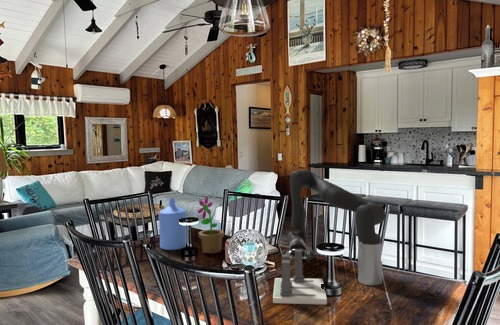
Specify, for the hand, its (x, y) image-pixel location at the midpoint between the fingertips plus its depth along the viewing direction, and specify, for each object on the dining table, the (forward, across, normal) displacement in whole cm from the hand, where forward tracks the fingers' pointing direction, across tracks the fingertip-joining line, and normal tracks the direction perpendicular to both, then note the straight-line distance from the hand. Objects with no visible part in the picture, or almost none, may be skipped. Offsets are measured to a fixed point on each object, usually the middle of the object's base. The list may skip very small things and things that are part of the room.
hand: (298, 259), depth 162 cm
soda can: (-21, -32, +10) cm, 39 cm away
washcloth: (-42, -20, +10) cm, 48 cm away
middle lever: (+12, -5, +7) cm, 15 cm away
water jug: (-48, -71, +10) cm, 87 cm away
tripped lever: (+5, 0, +7) cm, 9 cm away
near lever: (+19, -5, +7) cm, 21 cm away
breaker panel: (+12, 0, +10) cm, 16 cm away
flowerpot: (-42, -47, +10) cm, 64 cm away
